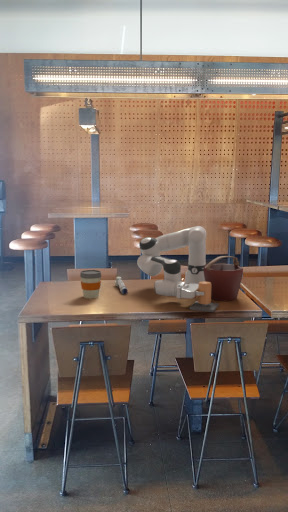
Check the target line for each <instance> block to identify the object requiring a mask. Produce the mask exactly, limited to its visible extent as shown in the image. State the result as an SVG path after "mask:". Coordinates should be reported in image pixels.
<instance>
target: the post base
mask: <svg viewBox="0 0 288 512" xmlns="http://www.w3.org/2000/svg"><path fill="white" fill-rule="evenodd" d="M219 305H220V303H217V302H211V303H210V304H200V303H198V300H195V302H194V303H192V304H191V305H190V306H189V310H190V311H198V312H199V311H200V312H207V313H214V312H215V311H216V310H217V309H218V308H219ZM217 307H218V308H217ZM216 308H217V309H216Z"/></svg>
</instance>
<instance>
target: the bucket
mask: <svg viewBox="0 0 288 512" xmlns="http://www.w3.org/2000/svg"><path fill="white" fill-rule="evenodd" d="M226 258H232V264H230V263H216V262H218V261H220V260H222V259H226ZM243 276H244V268H243V267H241V266H240V262H239V261H238V257H236V256H230V255H220V256H217V257H216V258H214V259H212V260H211V261H209V262H208V263H207V264H206V266H205V267H204V277H205V282H210V283H211V301H212V300H213V301H216V302H231V301H235V300H237V299H238V296H239V291H240V287H241V284H242V279H243Z"/></svg>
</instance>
